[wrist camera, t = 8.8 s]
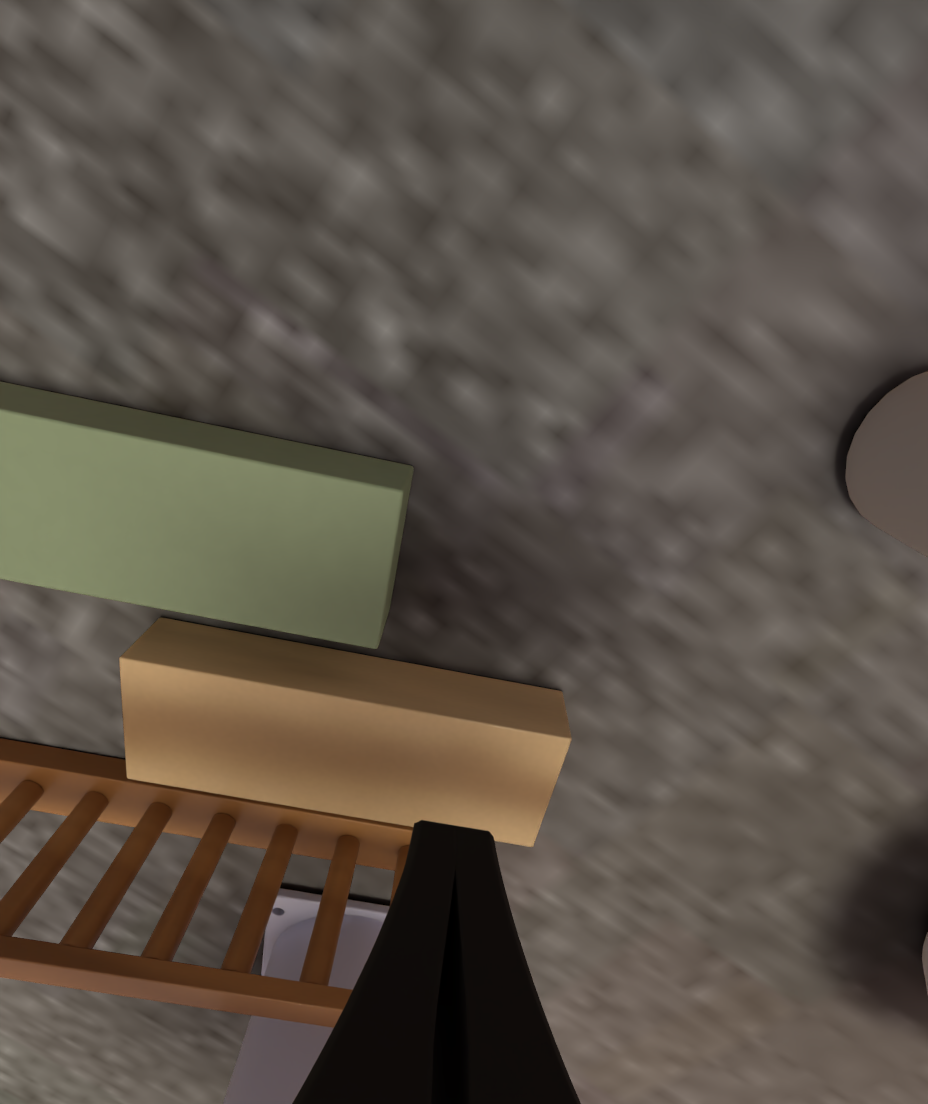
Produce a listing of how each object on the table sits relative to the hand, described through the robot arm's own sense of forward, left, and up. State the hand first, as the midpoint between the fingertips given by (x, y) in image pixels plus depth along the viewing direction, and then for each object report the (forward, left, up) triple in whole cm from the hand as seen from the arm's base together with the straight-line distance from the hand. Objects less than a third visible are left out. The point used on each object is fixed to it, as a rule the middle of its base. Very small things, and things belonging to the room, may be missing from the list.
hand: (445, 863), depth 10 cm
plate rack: (-11, +8, -9) cm, 16 cm away
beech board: (-5, +3, -9) cm, 11 cm away
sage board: (+2, +9, -9) cm, 13 cm away
